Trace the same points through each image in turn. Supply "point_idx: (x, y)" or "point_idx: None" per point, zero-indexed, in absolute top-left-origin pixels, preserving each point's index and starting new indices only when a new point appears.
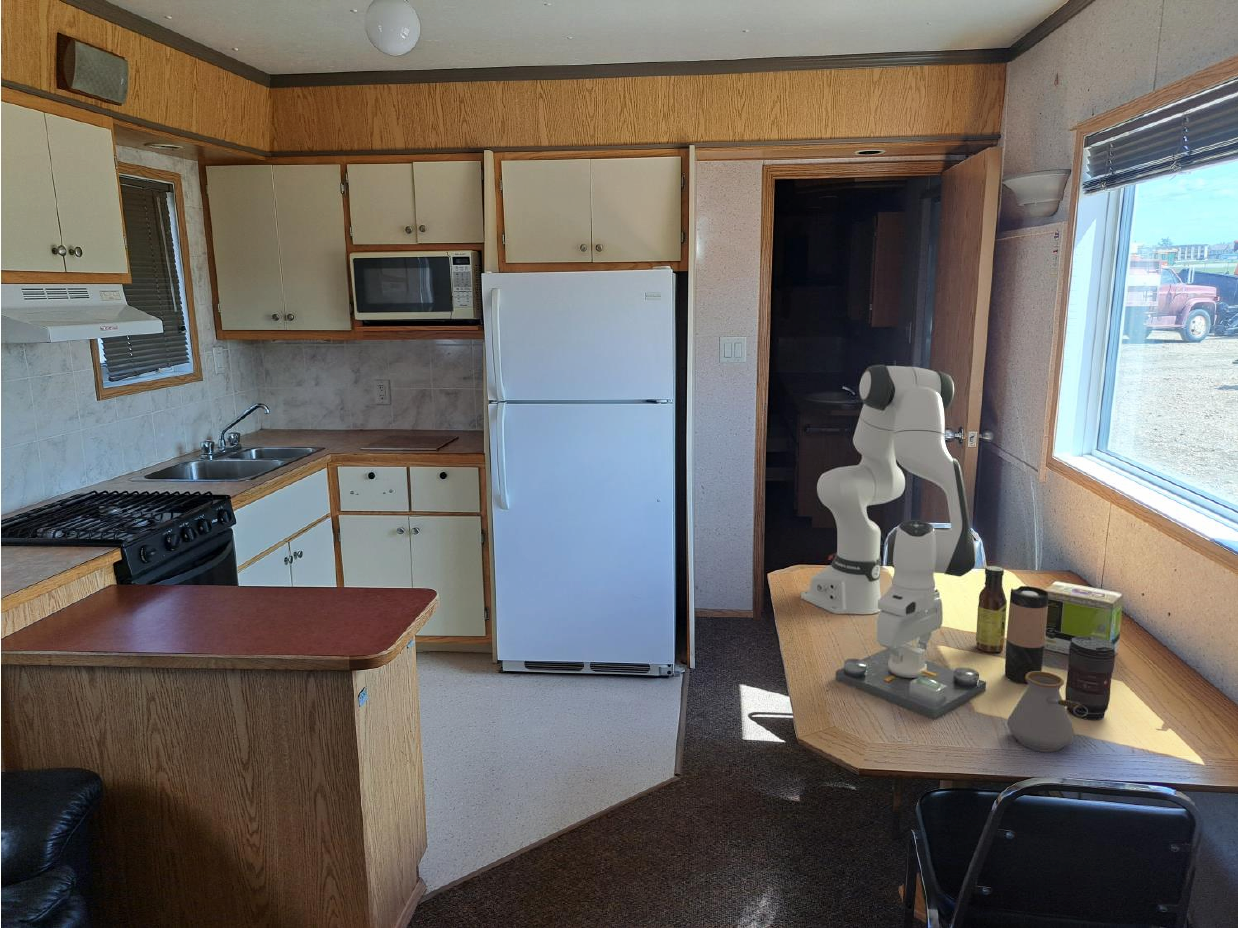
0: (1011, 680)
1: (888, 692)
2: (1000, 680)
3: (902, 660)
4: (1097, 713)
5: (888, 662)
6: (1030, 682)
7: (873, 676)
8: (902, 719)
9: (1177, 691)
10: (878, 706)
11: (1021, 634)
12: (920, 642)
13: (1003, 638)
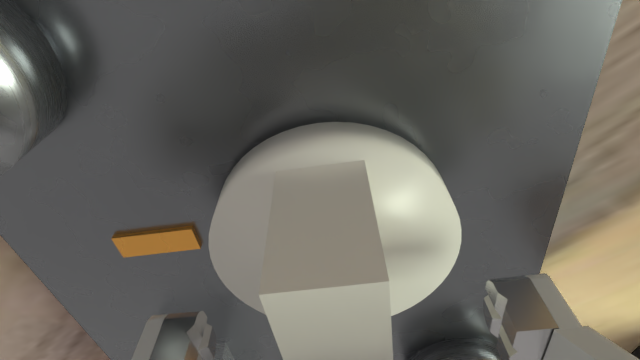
0: (634, 354)
1: (68, 306)
2: (617, 337)
3: (212, 354)
4: None
5: (229, 191)
6: None
7: (77, 179)
8: (68, 354)
9: None
10: (20, 282)
11: None
12: (551, 340)
13: None
